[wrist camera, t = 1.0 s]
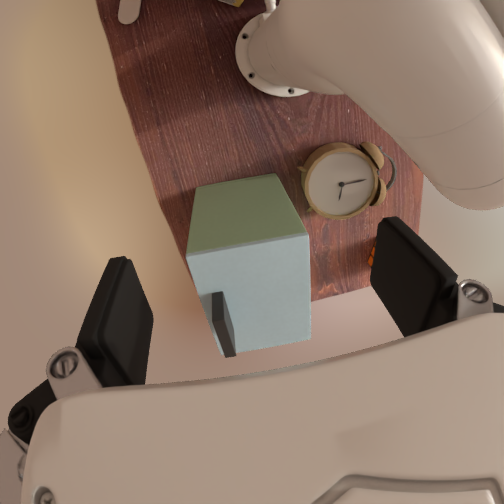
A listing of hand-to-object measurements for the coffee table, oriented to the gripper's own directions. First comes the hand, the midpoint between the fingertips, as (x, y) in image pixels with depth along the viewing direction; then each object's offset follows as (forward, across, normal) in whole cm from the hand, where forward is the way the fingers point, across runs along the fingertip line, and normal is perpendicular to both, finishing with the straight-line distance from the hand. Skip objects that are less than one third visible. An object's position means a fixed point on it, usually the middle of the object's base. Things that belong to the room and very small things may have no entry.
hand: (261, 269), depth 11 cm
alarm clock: (+32, -17, +8) cm, 37 cm away
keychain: (+31, +8, -23) cm, 39 cm away
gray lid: (+15, -1, +16) cm, 22 cm away
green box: (+32, -1, +15) cm, 35 cm away
